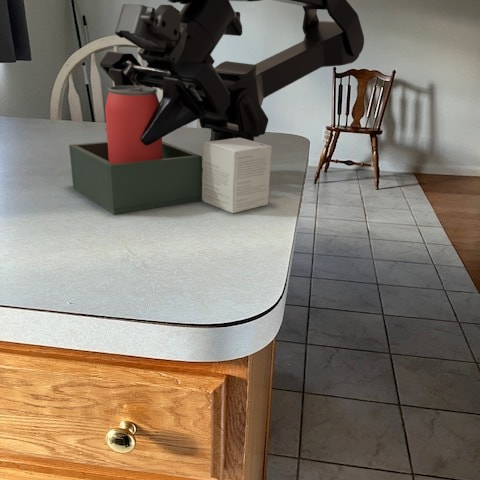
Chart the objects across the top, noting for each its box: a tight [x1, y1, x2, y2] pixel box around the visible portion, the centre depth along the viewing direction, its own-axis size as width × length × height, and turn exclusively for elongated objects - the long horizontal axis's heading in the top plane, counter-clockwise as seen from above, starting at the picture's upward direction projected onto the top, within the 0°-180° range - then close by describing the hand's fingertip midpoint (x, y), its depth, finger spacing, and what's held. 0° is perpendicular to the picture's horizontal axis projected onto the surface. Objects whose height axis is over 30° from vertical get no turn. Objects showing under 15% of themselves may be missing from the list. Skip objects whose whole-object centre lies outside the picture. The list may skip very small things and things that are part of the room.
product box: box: [201, 138, 273, 214], centre depth 66 cm, size 6×6×7 cm
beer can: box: [104, 85, 163, 164], centre depth 66 cm, size 7×7×12 cm
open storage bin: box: [68, 140, 203, 215], centre depth 68 cm, size 12×12×6 cm
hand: (125, 137), depth 65 cm, fingers closed on beer can, 6 cm apart
